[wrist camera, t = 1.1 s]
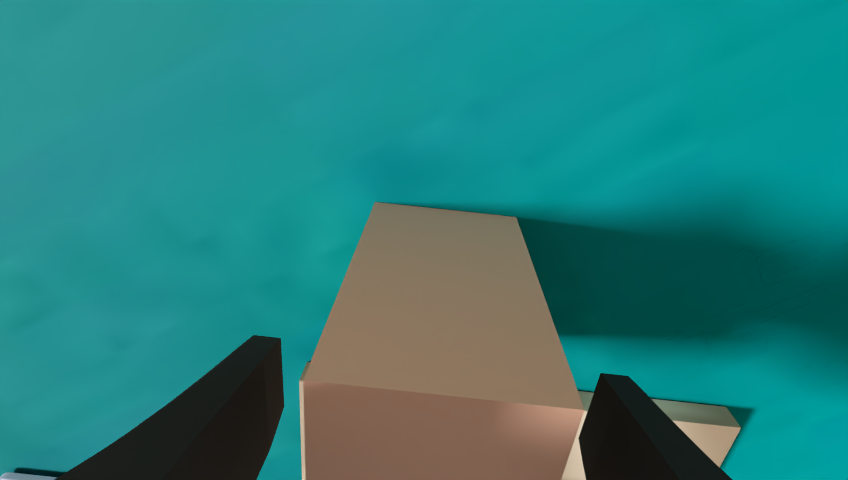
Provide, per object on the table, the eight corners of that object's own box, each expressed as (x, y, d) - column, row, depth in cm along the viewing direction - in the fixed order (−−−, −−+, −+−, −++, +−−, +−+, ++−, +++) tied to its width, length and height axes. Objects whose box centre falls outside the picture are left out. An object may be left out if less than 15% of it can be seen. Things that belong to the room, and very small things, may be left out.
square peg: (368, 318, 16) (307, 551, 9) (375, 202, 14) (303, 380, 7) (493, 332, 16) (529, 574, 9) (516, 217, 14) (585, 409, 7)
